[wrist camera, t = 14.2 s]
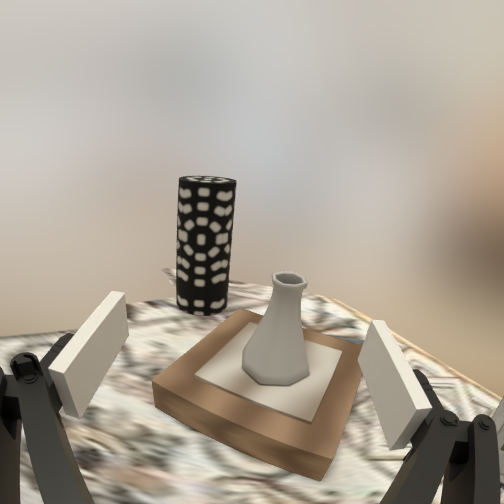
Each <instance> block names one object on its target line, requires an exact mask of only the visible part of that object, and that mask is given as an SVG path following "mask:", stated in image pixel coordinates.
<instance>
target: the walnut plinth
mask: <svg viewBox="0 0 504 504" xmlns="http://www.w3.org/2000/svg"><path fill="white" fill-rule="evenodd" d="M262 318H263V315H260V314H257V313H254V312H251V311H248V310H245V309H242V308H239V309H238V310H237V311H236V312H235V313H233V314H232V315H231V316H230V317H229V318H228V319H226V320H225V321H224V322H223V323H222V324H220V325H219V326H218V327H217V328H215V329H214V330H213V331H212V332H211V333H209V334H208V335H207V336H206V337H205V338H203V339H202V340H201V341H200V342H198V343H197V344H196V345H195V346H194V347H192V348H191V349H190V350H189V351H187V352H186V353H185V354H184V355H183V356H181V357H180V358H179V359H178V360H176V361H175V362H174V363H173V364H171V365H170V366H169V367H168V368H166V369H165V370H164V371H163V372H161V373H160V374H159V375H158V376H156V377H155V378H154V379H153V380H151V381H152V388H153V395H154V401H155V407H156V408H158V409H160V410H161V411H163V412H165V413H166V414H168V415H170V416H172V417H173V418H175V419H177V420H179V421H181V422H182V423H184V424H186V425H188V426H190V427H192V428H194V429H195V430H197V431H199V432H201V433H203V434H205V435H207V436H209V437H211V438H213V439H215V440H217V441H219V442H221V443H223V444H226V445H228V446H230V447H232V448H234V449H236V450H239V451H241V452H243V453H245V454H248V455H250V456H252V457H255V458H257V459H260V460H262V461H265V462H267V463H270V464H272V465H275V466H277V467H280V468H283V469H285V470H288V471H291V472H294V473H297V474H300V475H302V476H305V477H308V478H312V479H315V480H318V481H321V480H322V478H323V476H324V474H325V473H326V471H327V469H328V467H329V465H330V464H331V462H332V460H333V458H334V455H335V453H336V450H337V447H338V445H339V442H340V439H341V437H342V434H343V431H344V428H345V425H346V422H347V420H348V417H349V414H350V411H351V408H352V405H353V401H354V398H355V395H356V392H357V389H358V385H359V382H360V378H361V375H362V370H361V368H360V365H359V362H358V357H359V354H360V352H361V349H362V345H359V344H355V343H351V342H348V341H344V340H341V339H337V338H334V337H331V336H327V335H324V334H320V333H317V332H314V331H310V330H307V329H304V328H302V331H303V337H304V343H305V349H306V354H307V359H308V365H309V371H310V374H309V375H307V376H306V377H304V378H302V379H300V380H298V381H296V382H294V383H292V384H290V385H277V384H259V383H258V382H257V381H256V380H255V379H254V378H253V377H252V376H251V375H250V374H249V373H248V372H247V371H245V370H244V369H243V368H242V354H243V349H244V347H245V345H246V344H247V342H248V341H249V339H250V338H251V336H252V334H253V333H254V331H255V330H256V328H257V326H258V325H259V323H260V321H261V319H262Z"/></svg>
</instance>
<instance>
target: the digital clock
mask: <svg viewBox="0 0 504 504" xmlns="http://www.w3.org/2000/svg"><path fill="white" fill-rule="evenodd" d="M492 419H493V421H494V422H495V425H496V431H497V439H498V450H499V464H500V484H502V485H504V397H503V399H502V400H501V402H500V404H499V406H498V408H497V409H496V411H495V413H494V414H493V416H492Z"/></svg>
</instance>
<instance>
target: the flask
mask: <svg viewBox="0 0 504 504" xmlns="http://www.w3.org/2000/svg"><path fill="white" fill-rule="evenodd" d="M272 281H273V285H274V287H273V293H272V297H271V299H270V302H269V305H268V308H267V310H266V312H265V314H264V316H263V318H262V319H261V321H260V323H259V325H258V326H257V328H256V330H255V331H254V333H253V334H252V336H251V338H250V339H249V341H248V342H247V344H246V345H245V347H244V349H243V354H242V368H243V369H244V370H245V371H247V372H248V373H249V374H250V375H251V376H252V377H253V378H254V379H255V380H256V381H257V382H258V383H259V384H277V385H290V384H292V383H294V382H296V381H298V380H300V379H302V378H304V377H306V376H307V375H309V374H310V371H309V365H308V359H307V354H306V349H305V343H304V337H303V331H302V325H301V297H302V292H303V289H305V288H306V287H307V281H306V278H305V277H304V276H302V275H300V274H298V273H296V272H289V271H280V272H276V273H272Z"/></svg>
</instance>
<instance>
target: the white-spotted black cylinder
mask: <svg viewBox="0 0 504 504" xmlns="http://www.w3.org/2000/svg"><path fill="white" fill-rule="evenodd" d="M235 194H236V180H233V179H229V178H223V177H212V176H185V177H180V178H179V190H178V215H177V216H178V217H177V263H176V264H177V265H176V290H177V305H178V307H179V308H180V309H181V310H183V311H184V312H187V313H189V314H193V315H202V316H205V315H213V314H217V313H219V312H221V311H223V310H224V309H225V308H226V306H227V297H228V283H229V269H230V256H231V243H232V242H231V241H232V229H233V218H234V206H235Z"/></svg>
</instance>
